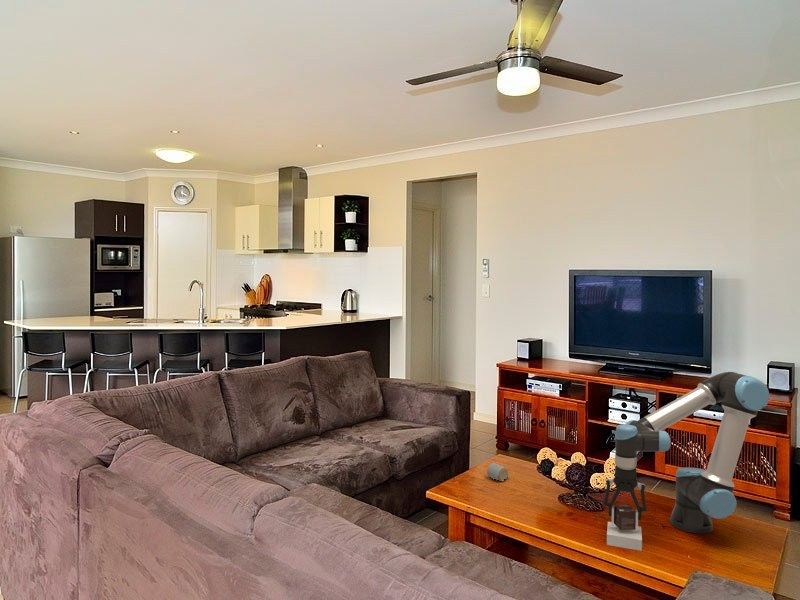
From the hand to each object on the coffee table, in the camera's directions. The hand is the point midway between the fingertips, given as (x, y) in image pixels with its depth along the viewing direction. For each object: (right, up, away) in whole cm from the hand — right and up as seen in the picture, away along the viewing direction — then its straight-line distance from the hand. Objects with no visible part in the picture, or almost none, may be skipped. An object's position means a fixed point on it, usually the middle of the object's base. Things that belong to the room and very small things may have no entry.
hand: (624, 526), depth 211 cm
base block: (0, -6, 0) cm, 6 cm away
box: (0, 0, 0) cm, 0 cm away
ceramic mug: (-36, -4, +66) cm, 75 cm away
